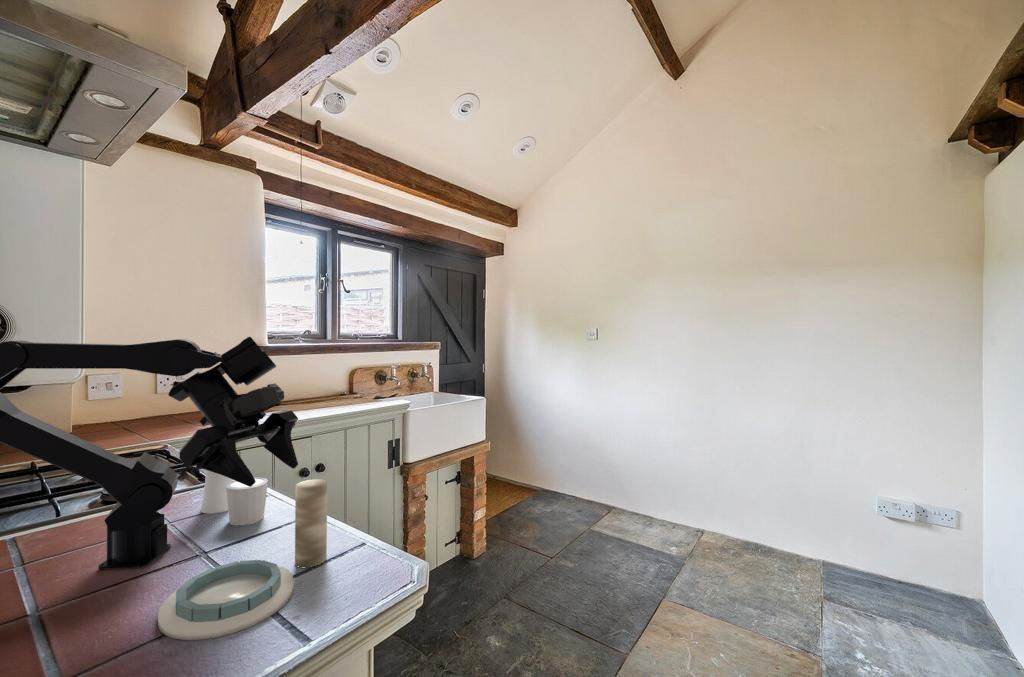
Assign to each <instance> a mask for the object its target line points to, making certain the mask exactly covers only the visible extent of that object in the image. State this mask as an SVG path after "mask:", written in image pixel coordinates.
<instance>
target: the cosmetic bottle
mask: <svg viewBox="0 0 1024 677" xmlns="http://www.w3.org/2000/svg"><path fill="white" fill-rule="evenodd" d="M210 427H212V426H211V425H210ZM204 479H205V480H204V488H203V489H204V490H203V497H202V502H201V507H200V512H201V513H202V514H207V515H213V514H214V515H215V514H219V513H220V514H221V513H225V512H228V503H227V493H226V485H227V484H229V483H230V482H233V481H234V480H233V479H230V478H228V477H225V476H223V475H220V474H217V473H214V472H211V471H208V470H205V478H204Z"/></svg>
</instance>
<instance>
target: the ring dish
mask: <svg viewBox="0 0 1024 677" xmlns="http://www.w3.org/2000/svg"><path fill="white" fill-rule="evenodd" d="M294 580H295V579H294V576H293V574H292V572H290V571H289V570H288V569H286V567H282V566H278V564H277V563H274V562H272V561H271V562H270V561H267V560H263V559H253V560H252V559H251V560H249V559H247V560H240V561H239V560H238V561H237V560H236V561H233V562H229V563H225V564H222V565H218V566H215V567H212V568H211V567H210V568H209V569H207V570H205V571H203V572H200V573H198V574H197V575H194V576H193V577H191V578H189V579H188V580H187V581H185V582H184V583H183V584H182V585H181V586H180V587H179V588H178V589H177V590H175V591H174V592H173V593H172V594H170V595H169V596H168V597H167V598H166V599H165V600H164V601H163V602H162V603H161V605H160V607H159V609H158V613H157V626H158V629H159V631H160V633H161V634H163V635H165V636H167V637H168V638H171V639H175V640H176V639H177V640H183V641H199V640H200V641H201V640H208V639H213V638H219V637H223V636H228V635H231V634H234V633H238V632H240V631H242V630H247V628H250V627H253V626H254V625H257V624H259V623H260V622H263V621H265V620H266V619H268V618H270V617H271V616H273V615H274V614H275V613H277V612H278V611H280V609H282V608H283V607H284V606H285V605H286V602H287V603H288V602H289V600H290V599H291V597H292V595H293V593H294V582H295V581H294ZM292 592H293V593H292ZM290 596H291V597H290ZM289 598H290V599H289ZM288 599H289V600H288Z"/></svg>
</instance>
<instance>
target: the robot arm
mask: <svg viewBox="0 0 1024 677" xmlns="http://www.w3.org/2000/svg"><path fill="white" fill-rule="evenodd" d="M275 368H277V364H275V363H274V361H273V360H272V359H271V357H270V356H269V355H268V353H267V352H265V350H264V349H261V347H260V346H259V345H258V344H257V342H256V341H255V340H254V339H253V338H252V337H251V336H248V337H246V338H244V339H243V340H242V341H240V342H239V343H238V344H237V345H235V346H234V347H232V348H230V349H229V350H227V351H225V352H224V353H222V354H221V353H217V352H216V351H214V352H212V351H208V350H205V349H201V348H200V346H199V345H198V344H197V343H196V342H194V341H193V340H190V339H186V338H180V339H179V338H177V339H169V340H162V341H160V340H159V341H153V342H142V343H134V344H121V343H120V344H119V343H118V344H115V343H114V344H113V343H112V344H111V343H110V344H108V343H74V342H73V343H71V342H69V343H67V342H64V343H63V342H59V343H58V342H33V341H28V340H9V341H2V342H0V390H1V389H3V388H4V387H6V386H7V385H9V383H11V382H12V381H14V379H16V378H17V377H18V376H19V375H20V374H22V373H23V372H24V371H26V370H27V369H38V370H39V369H45V370H46V369H47V370H48V369H51V370H52V369H59V370H60V369H63V370H64V369H66V370H67V369H75V370H76V369H85V370H87V369H88V370H89V369H93V370H94V369H103V370H105V369H107V370H108V369H109V370H110V369H111V370H112V369H116V370H117V369H121V370H122V369H123V370H125V369H126V370H133V371H136V372H137V371H138V372H142V373H143V372H144V373H147V374H156V375H163V376H169V377H170V376H171V377H181V376H186V375H188V374H190V373H192V372H193V371H194V370H195V369H196V370H197V369H208V370H206V371H203V372H199V371H197V372H196V373H195V374H193V375H191V376H190V377H188V378H186V379H185V380H183V381H177V380H175V381H173V383H172V387H171V388H170V389H169V392H168V394H167V395H168V397H171V398H172V399H174V400H176V401H178V402H182V401H184V400H186V399H188V398H189V399H190V401H191V402H192V403H193V404H194V406H195V407H196V408H197V410H198V411H199V412H200V413H201V415H202V416H203V417H202V418H201V419H200V420H199V423H200V425H202V426H203V427H204V426H208V425H209V427H205V428H200V429H197V430H196V431H195V433H194V434H193V435H192V436H190V438H189V440H187V441H186V442H185V443H184V445H183V446H182V447H181V449H179V456H178V457H179V460H180V462H181V463H182V464H183V465H184V466H185V468H186V469H190V468H193V467H195V468H196V470H205V471H206V470H208V471H211V472H214V473H217V474H220V475H223V476H225V477H228V478H230V479H233V481H237V482H240V483H242V484H244V485H247V486H249V487H250V486H253V484H254V483H255V482H256V481H255V479H254V477H255V476H254V475H253V473H252V471H251V470H250V469H249V468H248V467H247V465H246V463H245V462H244V461H243V458H242V457H241V456H240V454H239V453H238V451H237V446H236V445H237V444H236V443H240V442H243V441H248V440H250V439H254V438H257V439H258V440H259V442H261V443H264V444H265V445H264V446H263V448H264V449H266V451H268V452H270V453H271V454H272V455H273V456H275V457H276V458H277V459H279V460H280V462H282V463H283V464H285V465H287V466H288V467H289V468H291V469H294V470H295V469H296V468H297V467H298V466H299V463H298V458H297V456H296V453H295V452H296V451H295V449H294V445H293V442H292V429H293V428H294V427H295V426H296V423H297V421H298V420H299V418H298V416H297V415H296V413H294V411H293V410H290V409H289V410H288V409H284V410H280V411H275V412H272V413H271V414H270V415H269V416H268V417H267V418H266V419H265V420H264V422H262V423H260V422H259V421H260V420H263V418H264V417H265V416H267V414H266V411H268V410H270V409H272V408H274V407H279V406H281V405H282V401H283V400H284V398H285V392H284V390H283V389H282V388H281V387H280V386H279V385H278V384H277V383H269V384H267V386H262V387H261V388H255V389H253V390H250V391H249V392H246V393H240V394H239V393H237V391H236V389H234V388H233V387H232V385H231V384H230V382H229V381H228V380H227V379H226V377H225V376H224V375H225V374H226V375H227V377H228V378H229V379H230V380H231V381H232V382H233V383H234V384H235V385H236V386H238V385H242V384H244V385H245V386H247V387H248V386H249V385H251V384H252V383H254V382H255V381H257V380H258V379H260V378H262V377H263V376H265V375H266V374H267V373H269V372H271V371H273V369H275ZM211 426H212V427H211ZM0 444H2V445H5V446H8V447H10V448H12V449H15V450H17V451H20V452H22V453H24V454H27V455H28V456H31V457H33V458H36V459H38V460H41V461H43V462H45V463H47V464H50V465H51V466H55V467H57V468H59V469H62V470H64V471H67V472H69V473H71V474H73V475H76V476H78V477H81V478H84V479H86V480H87V481H88V480H89V481H91V482H93V483H95V484H97V485H99V486H100V487H101V488H102V489H103V490H104V491H105V492H106V493H107V494H108V495H109V496H110V497H111V498H112V499H113V500H114V501H116V502H117V503H116V504H115V505H114V506H113V508H112V509H111V511H110V512H109V513H108V514H107V516H106V517H105V519H104V523H105V525H106V559H105V560H104V561H102V562H101V563H100V564H98V566H97V567H98V569H99V570H104V569H105V570H107V569H111V570H112V569H131V568H132V569H133V568H143V567H147V565H150V563H152V562H153V561H154V560H156V559H158V558H159V557H160V556H161V555H162V554H164V553H165V552H167V551H169V549H171V547H172V544H170V543H168V524H167V523H165V513H159V512H158V511H160V510H162V509H164V508H165V507H166V506H167V505H169V503H170V501H171V500H172V498H173V496H174V493H175V491H176V489H177V486H178V481H179V479H178V475H177V472H176V471H175V470H174V469H173V468H171V467H170V465H171V462H170V461H169V462H167V461H162V460H159V459H158V458H156V457H154V456H153V455H152V454H150V453H149V452H144V453H142V455H141V456H140V457H139V459H137V458H129V457H123V456H120V455H118V454H117V453H114V452H112V451H109V450H107V449H105V448H103V447H100V446H99V445H96V444H93V443H92V442H90V441H88V440H85V439H83V438H80V437H78V436H77V435H75V434H73V433H70V432H68V431H67V430H66V431H65V430H63V429H61V428H59V427H57V426H55V425H52V424H50V423H48V422H46V421H43V420H41V419H39V418H37V417H34V416H32V415H31V414H28V413H26V412H24V411H22V410H20V409H19V408H18V407H17V406H16V405H15V404H14V403H13V402H12V401H11V399H9V398H8V397H7V396H6V395H5V394H3V393H2V392H1V391H0Z"/></svg>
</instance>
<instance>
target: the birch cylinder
mask: <svg viewBox="0 0 1024 677" xmlns="http://www.w3.org/2000/svg"><path fill="white" fill-rule="evenodd" d="M294 493H295V494H294V495H295V503H294V504H295V507H294V509H295V511H294V512H295V514H294V515H295V518H294V525H295V526H294V565H295V564H296V565H297V566H299V567H311V566H315V567H318V566H320V565H322V564H323V563H325V562H326V560H327V557H328V556H327V548H328V547H327V543H328V542H327V541H328V539H327V538H328V536H327V534H328V524H327V523H328V481H327V480H325V479H318V478H317V479H316V478H314V479H307V480H303V481H300V482H298V483H297V484H295V492H294ZM321 563H322V564H321ZM296 565H295V566H296ZM317 565H318V566H317ZM297 566H296V567H297ZM299 567H298V568H299ZM311 568H312V567H311Z"/></svg>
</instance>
